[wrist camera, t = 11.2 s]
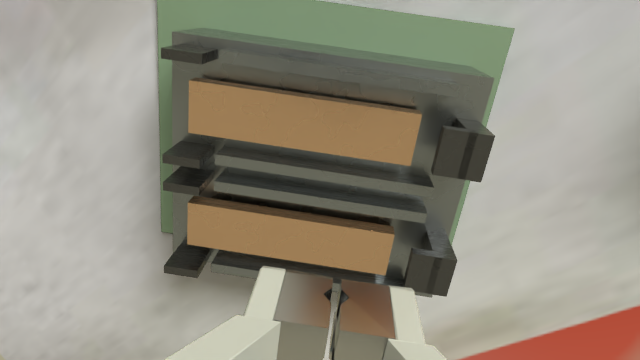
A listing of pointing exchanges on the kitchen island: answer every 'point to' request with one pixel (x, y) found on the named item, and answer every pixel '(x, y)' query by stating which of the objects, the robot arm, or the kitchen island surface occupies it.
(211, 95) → the strap near
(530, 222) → the kitchen island surface
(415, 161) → the grey toaster
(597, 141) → the kitchen island surface
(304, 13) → the board
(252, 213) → the strap far
